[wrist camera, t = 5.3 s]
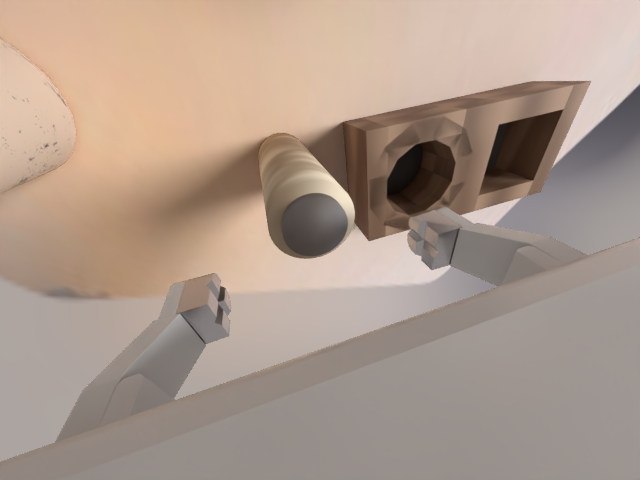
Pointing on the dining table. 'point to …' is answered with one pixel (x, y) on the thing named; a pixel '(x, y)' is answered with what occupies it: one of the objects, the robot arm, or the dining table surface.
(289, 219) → the oak dowel
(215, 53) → the dining table surface
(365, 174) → the bit block
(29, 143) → the teacup with lid
